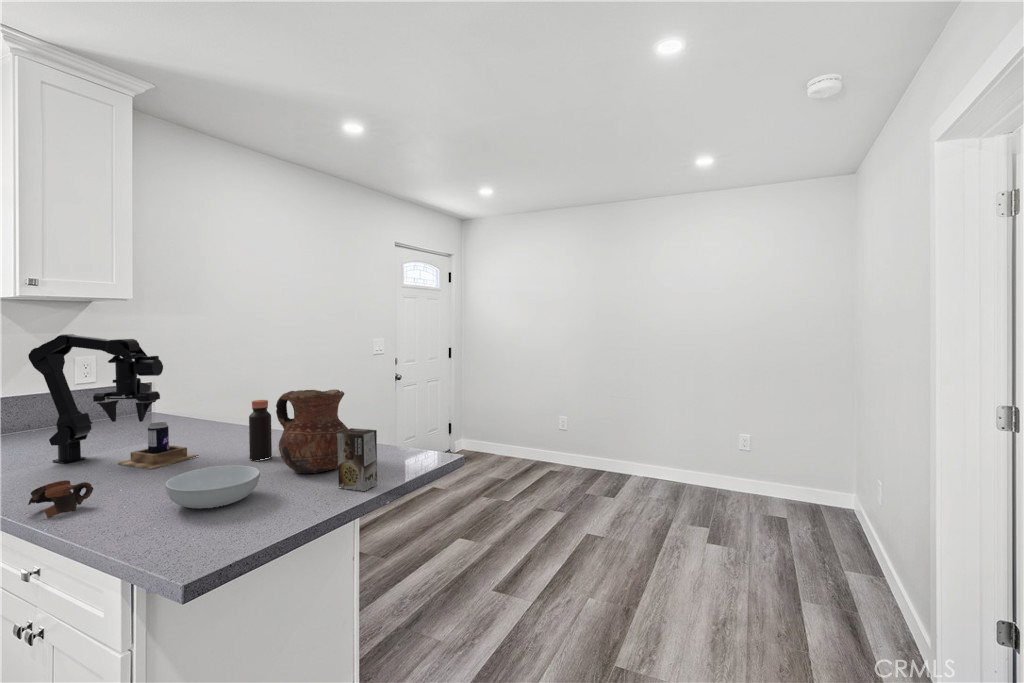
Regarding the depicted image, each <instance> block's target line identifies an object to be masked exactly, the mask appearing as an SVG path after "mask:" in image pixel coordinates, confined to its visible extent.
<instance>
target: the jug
mask: <svg viewBox="0 0 1024 683" xmlns="http://www.w3.org/2000/svg"><path fill="white" fill-rule="evenodd" d="M344 395H345V392H344V391H343V390H339V389H329V390H325V391H322V390H318V389H304V390H301V389H299V390H290V391H288V392H285V393H282V395H281V396H279V398H278V400H277V402H276V404H275V407H276V410H275V412H276V418H277V420H278V422H279V423H280V425H281V426H282V428H283V432H282V433H281V436H280V438H279V442H278V451H279V454H280V457H281V459H282V461H283V462H284V464H285V465H286V466H287V467H288V468H289V469H291V470H292V471H294V472H295V473H296V472H297V474H301V473H314V474H317V473H316V472H322V473H324V472H323V471H327V472H329V471H328V470H331V471H333V470H332V469H334V470H336V469H338V468H337V467H338V436H337V433H339V432H342V431H344V430H347V429H349V428H348V427H347V426H346V425H345V424H344V423H343V422H342V421H341V420H340V419H339V415H338V414H339V405H340V402H341V401H342V399H343V397H344ZM288 401H289V403H290V405H291V406H292V409H293V418H290V417H289V415H288ZM335 468H336V469H335Z"/></svg>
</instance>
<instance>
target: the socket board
mask: <svg viewBox="0 0 1024 683" xmlns="http://www.w3.org/2000/svg"><path fill="white" fill-rule="evenodd" d="M196 456H199V457H200V455H199V454H194V453H188V447H186V446H178V445H171V444H169V451H166V452H162V453H158V454H150V453H148V448H145V449H140V450H136V451H132V452H130V459H127V460H123V461H119V462H117V465H119V464H123V465H122V466H125V465H129V466H128V467H132V466H135V467H134V468H138V467H141V468H140V469H144V468H148V469H147V470H150V469H151V470H153V469H152V468H155V469H157V468H156V467H159V468H161V467H160V466H162V467H165V466H164V465H166V466H169V465H168V464H170V465H173V464H172V463H174V464H176V463H175V462H177V463H180V461H181V462H184V461H183V460H185V461H188V460H187V459H189V460H191V459H190V458H192V459H194V458H193V457H196ZM196 458H197V457H196Z"/></svg>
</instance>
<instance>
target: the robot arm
mask: <svg viewBox="0 0 1024 683" xmlns="http://www.w3.org/2000/svg"><path fill="white" fill-rule="evenodd" d="M73 348H80V349H86V350H87V349H88V350H96V351H102V352H104V353H107V354H109V355H112V358H110V359H109V360H107V363H108V364H114V365H115V367H114V368H115V379H112V383H113V384H115V390H114V391H112V390H111V391H110V390H109V391H108V390H107V391H105V390H104V391H100V392H96V393H94V394H93V395H92V402H94V403H96V404H97V405H100V407H101V408H102V410H103V411H104V412H105V414H106V415H107V416H108V417H109V420H110V421H111V422H112V423H114V422H116V421H117V405H118V404H119V401H120V400H136V401H137V402H135V407H136V413H137V418H138V421H139V423H141V422H144V420H145V417H146V414H147V412H148V410H149V408H150V406H152V404H153V403H156V401H157V400H160V399H161V394H160V392H158V390H157V391H155V390H154V391H153V390H151V387H152V385H151V384H148V383H145V382H141V381H142V379H141V377H147V376H148V377H152V376H153V377H157V376H158V377H159V376H161V375H162V373H163V370H164V364H163V362H162V361H161V360H160V356H159V355H150V356H149V355H147V353H146V352H145V351H144V350H143V348H142V347H141V345H140V343H139V342H138V339H137V340H136V339H135V338H124V339H123V338H120V339H118V338H117V339H107V338H100V337H93V336H92V337H91V336H85V335H84V336H83V335H77V334H73V333H72V334H71V333H69V334H67V333H66V334H63V333H62V334H59V335H58V336H56V337H55V338H53V339H52V340H49V341H47V342H45V343H43V344H41V345H39V346H38V347H34V348H32V350H30V352H29V353H28V354H27V356H28V360H29V362H30V363H31V365H32V367H33V368H34V369H35V370H36V371H37V372H39V373H40V374H41V375H42V376H43V378H44V380H45V383H46V385H47V389H48V391H49V393H50V396H51V398H52V401H53V404H54V406H55V409H56V412H57V414H58V416H57V420H56V430H57V431H56V432H55V433H54V434H53V435H52V436H51V437H50V438H49V440H48V441H49V443H50V445H51V446H57V458H56V459H52V462H53V463H57V464H58V463H59V464H68V462H69V463H73V462H76V460H78V461H81V460H80V459H82V460H85V459H84V458H86V459H87V457H86V456H82V451H81V449H82V448H81V447H82V446H81V441H84V440H86V439H87V438H88V435H89V434H90V432H91V430H92V424H93V422H92V421H91V419H90V415H89V413H88V412H84V413H82V412H81V411H80V410H79V409H78V406H77V404H76V401H75V398H74V396H73V394H72V391H71V388H70V385H69V383H68V380H67V378H66V376H65V373H64V366H65V363H66V360H65V356H66V355H68V354H69V353H70V352H71V351H72V349H73ZM138 376H139V377H138ZM72 461H73V462H72Z"/></svg>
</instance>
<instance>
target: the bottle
mask: <svg viewBox="0 0 1024 683" xmlns="http://www.w3.org/2000/svg"><path fill="white" fill-rule="evenodd" d="M268 407H269V401H268V399H257V400H256V399H255V400H251V410H252V412H251V413H250V414H249V416H248V428H249V429H248V434H249V437H248V439H249V442H248V444H249V460H250V459H252V460H260V459H265V458H269V457H271V456H272V454H273V451H272V450H273V449H272V448H273V447H272V446H273V445H272V443H273V442H272V413H270V411H268ZM272 457H273V456H272ZM272 457H271V458H272ZM252 460H251V461H252Z"/></svg>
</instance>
